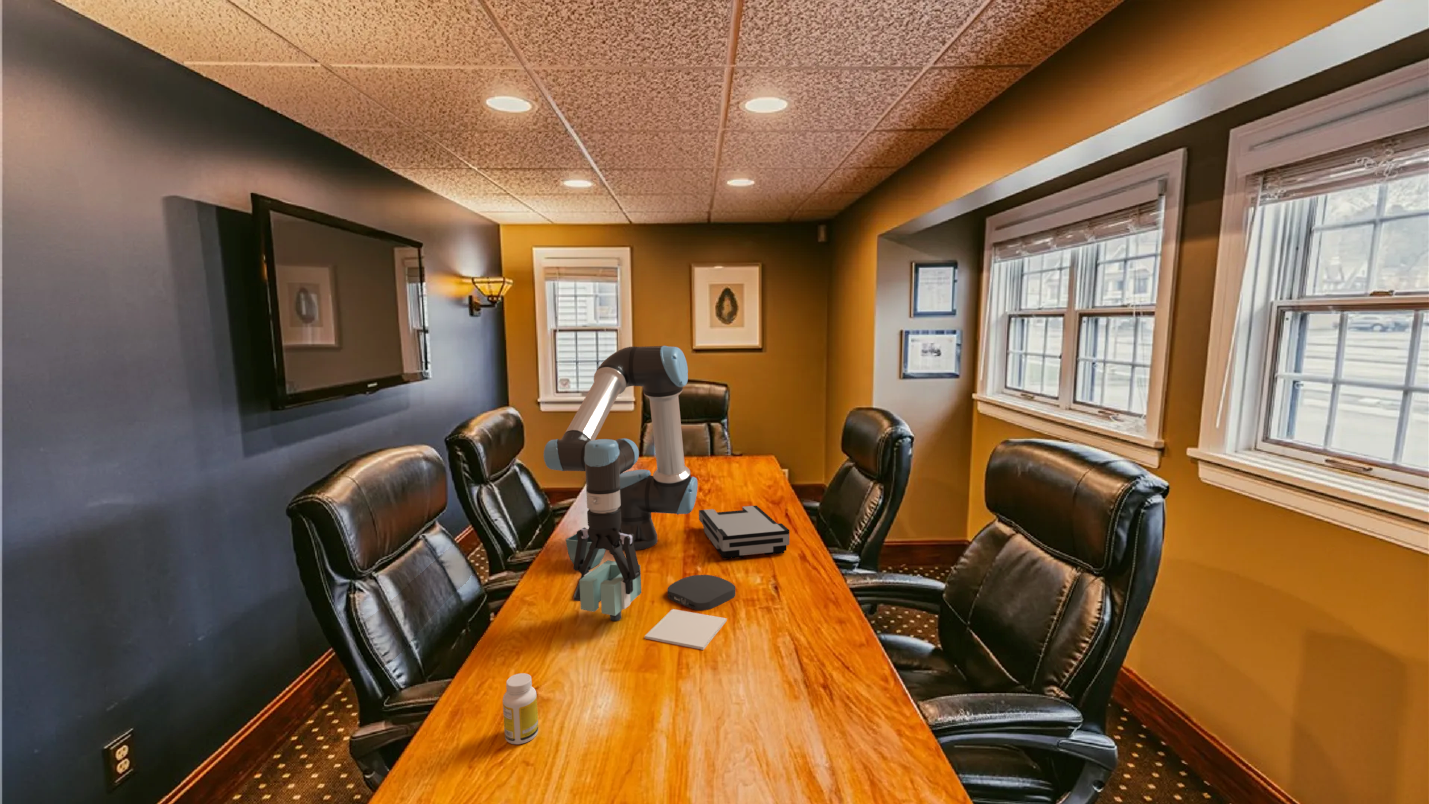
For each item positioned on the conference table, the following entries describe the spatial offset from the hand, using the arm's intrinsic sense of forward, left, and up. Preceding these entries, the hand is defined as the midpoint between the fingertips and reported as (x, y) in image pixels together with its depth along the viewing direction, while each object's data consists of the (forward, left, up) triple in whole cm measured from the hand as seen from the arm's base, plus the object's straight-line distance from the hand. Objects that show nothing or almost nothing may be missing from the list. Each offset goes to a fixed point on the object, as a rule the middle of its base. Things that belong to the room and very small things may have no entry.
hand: (607, 603), depth 139 cm
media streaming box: (-22, +14, -6) cm, 27 cm away
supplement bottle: (+39, +7, -5) cm, 40 cm away
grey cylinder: (-3, 0, -5) cm, 6 cm away
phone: (-16, -15, -6) cm, 23 cm away
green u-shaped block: (-2, 0, 0) cm, 2 cm away
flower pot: (-29, -25, -5) cm, 39 cm away
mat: (-4, +18, -5) cm, 19 cm away
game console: (-64, +10, -6) cm, 65 cm away
